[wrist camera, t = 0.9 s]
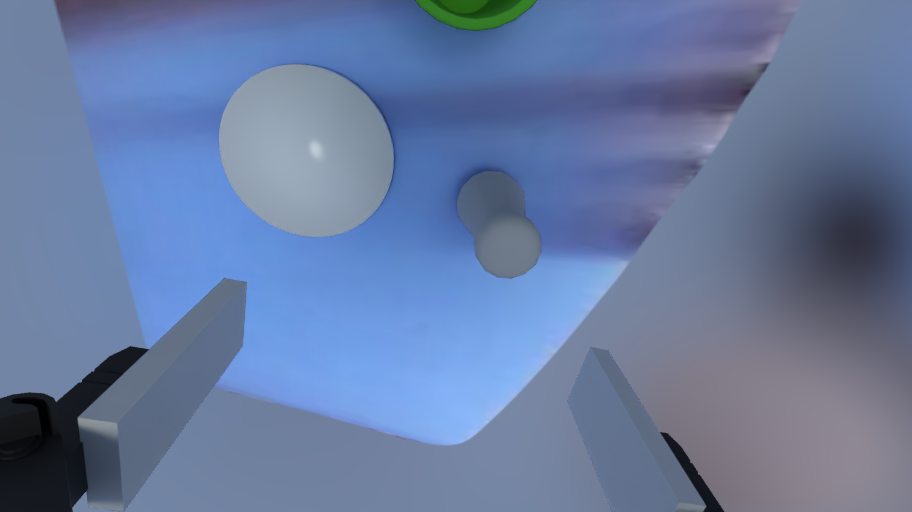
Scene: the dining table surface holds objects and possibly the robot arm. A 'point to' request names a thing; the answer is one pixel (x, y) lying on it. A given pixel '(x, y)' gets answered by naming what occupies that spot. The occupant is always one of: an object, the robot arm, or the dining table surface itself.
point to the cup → (475, 12)
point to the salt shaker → (499, 224)
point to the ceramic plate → (306, 150)
